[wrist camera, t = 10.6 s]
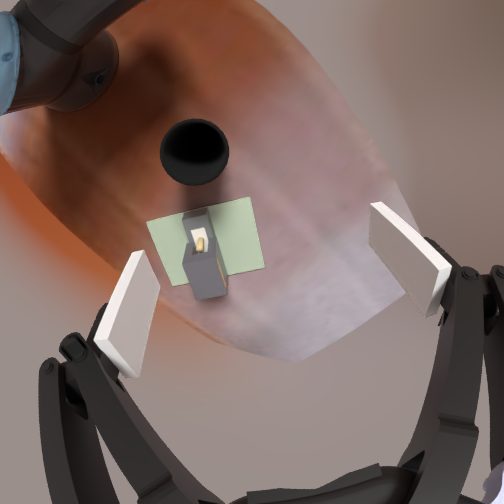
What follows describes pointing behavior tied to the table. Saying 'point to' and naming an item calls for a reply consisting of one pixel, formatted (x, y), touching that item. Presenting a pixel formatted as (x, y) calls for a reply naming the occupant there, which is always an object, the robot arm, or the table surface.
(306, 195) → the table surface
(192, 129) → the cup
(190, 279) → the plug block
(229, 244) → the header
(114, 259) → the table surface
